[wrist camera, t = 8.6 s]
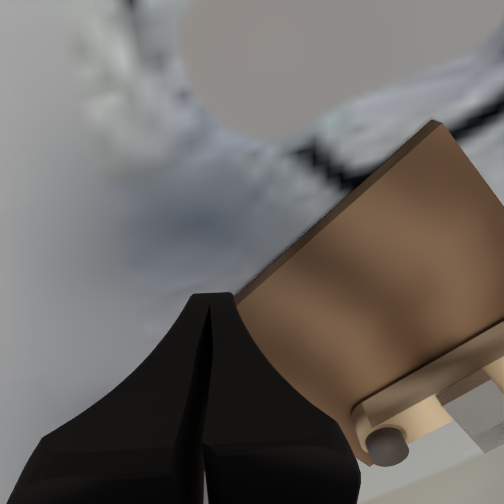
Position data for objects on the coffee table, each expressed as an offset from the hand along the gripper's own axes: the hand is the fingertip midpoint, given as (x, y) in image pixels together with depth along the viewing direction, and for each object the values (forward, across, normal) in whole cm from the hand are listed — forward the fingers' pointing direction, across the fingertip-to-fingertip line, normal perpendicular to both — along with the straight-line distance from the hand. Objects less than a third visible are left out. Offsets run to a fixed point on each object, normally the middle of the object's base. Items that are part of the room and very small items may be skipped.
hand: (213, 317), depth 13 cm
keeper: (+7, -15, +11) cm, 20 cm away
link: (+7, -14, +10) cm, 19 cm away
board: (+8, -11, +8) cm, 16 cm away
